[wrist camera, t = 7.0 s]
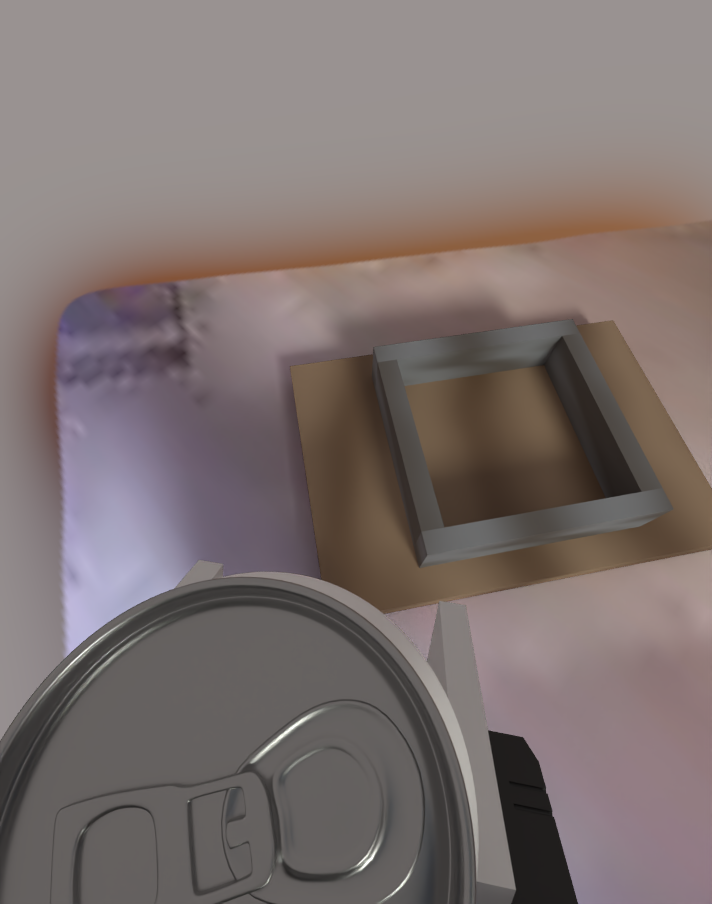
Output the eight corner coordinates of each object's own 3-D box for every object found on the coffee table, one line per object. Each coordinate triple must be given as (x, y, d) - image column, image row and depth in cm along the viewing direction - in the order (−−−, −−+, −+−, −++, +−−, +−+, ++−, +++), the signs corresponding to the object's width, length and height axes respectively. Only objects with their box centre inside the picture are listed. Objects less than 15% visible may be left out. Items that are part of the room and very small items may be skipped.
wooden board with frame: (601, 336, 29) (636, 288, 25) (718, 547, 22) (788, 524, 19) (292, 381, 27) (283, 336, 23) (328, 624, 21) (324, 614, 17)
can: (433, 811, 14) (648, 1204, 4) (234, 877, 14) (-223, 1612, 3) (378, 608, 17) (409, 495, 6) (211, 654, 16) (-62, 614, 6)
